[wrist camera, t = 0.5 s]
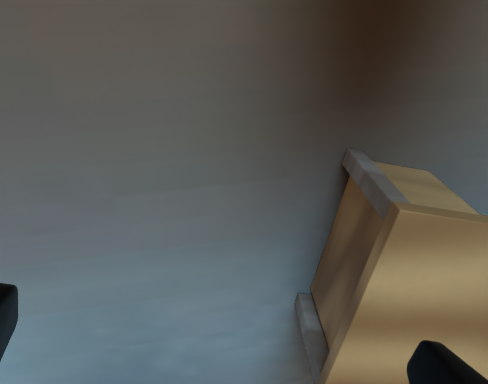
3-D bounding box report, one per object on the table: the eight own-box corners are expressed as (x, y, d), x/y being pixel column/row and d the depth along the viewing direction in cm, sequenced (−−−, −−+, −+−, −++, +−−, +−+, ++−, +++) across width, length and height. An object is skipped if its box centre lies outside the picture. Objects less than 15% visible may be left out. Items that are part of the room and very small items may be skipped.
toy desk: (495, 328, 30) (577, 427, 23) (290, 305, 27) (314, 407, 21) (588, 187, 24) (728, 261, 18) (344, 143, 22) (400, 209, 15)
